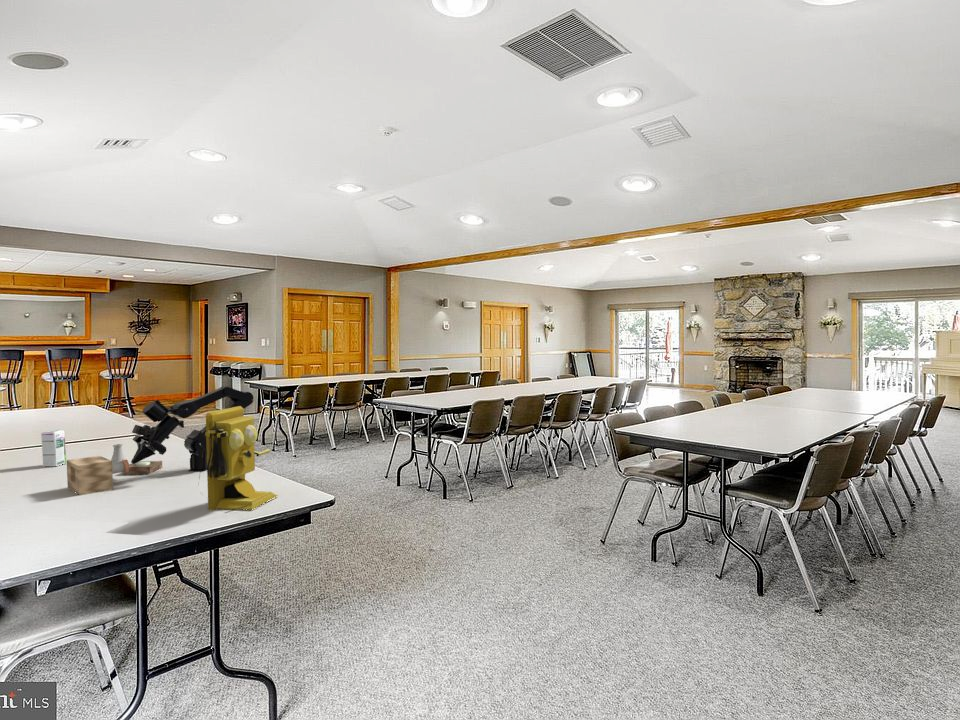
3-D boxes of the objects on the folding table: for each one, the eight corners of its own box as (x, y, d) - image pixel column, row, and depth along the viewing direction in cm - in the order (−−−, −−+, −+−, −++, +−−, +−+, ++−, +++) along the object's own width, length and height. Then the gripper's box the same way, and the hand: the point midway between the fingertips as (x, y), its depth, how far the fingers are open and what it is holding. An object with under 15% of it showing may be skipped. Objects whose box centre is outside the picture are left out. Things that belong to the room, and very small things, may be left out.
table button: (152, 468, 232) (152, 461, 232) (146, 471, 227) (146, 464, 227) (140, 469, 232) (139, 461, 231) (133, 472, 227) (133, 464, 226)
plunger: (124, 471, 214) (124, 458, 213) (129, 473, 210) (128, 460, 210) (99, 475, 207) (98, 462, 207) (103, 477, 204) (103, 464, 204)
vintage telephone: (233, 520, 167) (231, 417, 166) (190, 518, 170) (187, 416, 168) (288, 491, 198) (286, 404, 197) (251, 490, 200) (249, 403, 199)
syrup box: (56, 466, 238) (55, 432, 238) (42, 467, 238) (40, 432, 238) (66, 463, 244) (65, 429, 243) (52, 463, 244) (51, 429, 243)
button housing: (162, 468, 235) (162, 460, 234) (150, 474, 225) (149, 466, 224) (136, 468, 234) (136, 461, 234) (123, 474, 224) (123, 466, 224)
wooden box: (100, 482, 212) (99, 455, 211) (113, 489, 203) (112, 460, 202) (67, 488, 204) (66, 460, 204) (79, 495, 195) (78, 465, 195)
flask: (133, 467, 237) (132, 443, 236) (120, 471, 230) (119, 446, 229) (116, 466, 238) (115, 442, 237) (103, 471, 230) (102, 446, 230)
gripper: (137, 414, 223) (105, 446, 215) (156, 418, 211) (123, 453, 203) (160, 432, 229) (130, 464, 221) (179, 437, 217) (148, 471, 209)
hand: (132, 463), depth 213 cm, fingers closed
